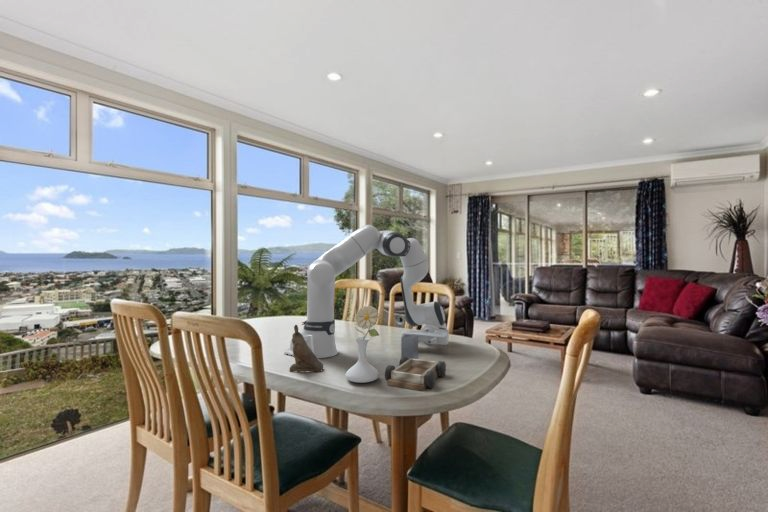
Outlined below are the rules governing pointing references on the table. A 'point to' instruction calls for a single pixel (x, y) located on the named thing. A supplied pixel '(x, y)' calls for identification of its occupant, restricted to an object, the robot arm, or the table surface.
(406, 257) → the robot arm
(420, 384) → the chassis
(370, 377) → the flower in vase
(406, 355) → the block
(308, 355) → the brown carved statuette
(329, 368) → the table surface
